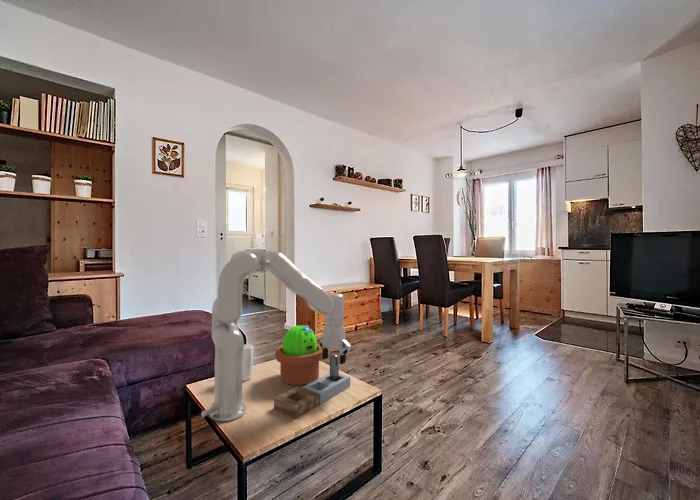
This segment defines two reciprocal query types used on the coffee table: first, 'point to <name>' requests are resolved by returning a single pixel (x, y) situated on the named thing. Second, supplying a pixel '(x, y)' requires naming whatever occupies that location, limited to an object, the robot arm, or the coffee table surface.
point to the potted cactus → (299, 356)
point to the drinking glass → (247, 362)
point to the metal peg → (334, 367)
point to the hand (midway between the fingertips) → (333, 361)
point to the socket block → (296, 402)
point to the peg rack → (327, 387)
